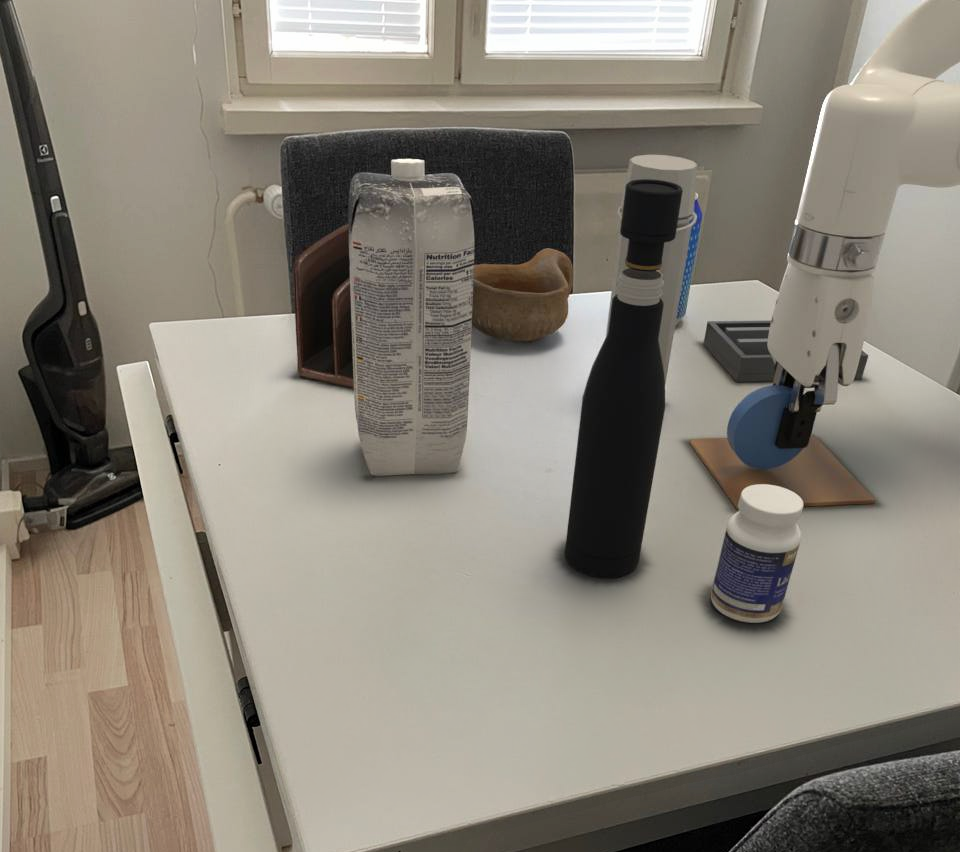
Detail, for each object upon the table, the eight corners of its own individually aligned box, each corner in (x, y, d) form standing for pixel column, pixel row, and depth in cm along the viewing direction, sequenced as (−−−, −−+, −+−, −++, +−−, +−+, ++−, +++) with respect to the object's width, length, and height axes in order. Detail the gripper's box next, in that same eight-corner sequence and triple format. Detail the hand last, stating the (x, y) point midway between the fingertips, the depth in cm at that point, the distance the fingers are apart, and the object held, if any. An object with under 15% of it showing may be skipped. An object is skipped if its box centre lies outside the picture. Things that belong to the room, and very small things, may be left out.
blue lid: (812, 438, 99) (796, 370, 94) (821, 447, 97) (805, 379, 93) (737, 472, 100) (717, 407, 95) (744, 482, 99) (725, 416, 94)
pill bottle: (782, 630, 78) (814, 521, 72) (709, 620, 79) (734, 511, 73) (778, 590, 83) (807, 484, 77) (709, 581, 83) (732, 475, 77)
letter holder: (296, 377, 113) (287, 250, 104) (375, 322, 127) (373, 207, 119) (375, 394, 110) (372, 265, 101) (446, 336, 125) (449, 219, 116)
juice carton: (469, 478, 96) (482, 178, 79) (360, 483, 94) (350, 177, 77) (456, 437, 102) (465, 153, 86) (354, 440, 101) (343, 151, 84)
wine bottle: (586, 584, 82) (637, 200, 64) (551, 545, 87) (590, 176, 68) (652, 570, 84) (720, 194, 66) (615, 532, 89) (669, 172, 70)
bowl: (489, 287, 136) (512, 217, 129) (578, 334, 134) (606, 265, 127) (430, 326, 123) (453, 250, 116) (527, 379, 121) (556, 304, 114)
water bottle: (598, 386, 114) (627, 150, 99) (666, 394, 113) (706, 157, 98) (589, 419, 107) (618, 170, 92) (661, 428, 106) (704, 178, 91)
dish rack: (819, 342, 129) (826, 315, 127) (861, 379, 120) (869, 351, 118) (703, 344, 127) (708, 317, 125) (736, 382, 117) (742, 353, 115)
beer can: (640, 304, 138) (657, 180, 128) (694, 318, 134) (717, 193, 124) (609, 320, 132) (626, 192, 122) (666, 335, 128) (687, 205, 119)
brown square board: (813, 438, 106) (814, 434, 106) (874, 503, 95) (875, 499, 95) (688, 442, 104) (689, 438, 104) (736, 509, 93) (737, 505, 93)
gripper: (919, 277, 81) (856, 478, 92) (834, 222, 93) (788, 405, 104) (834, 277, 80) (781, 480, 91) (759, 222, 92) (720, 407, 103)
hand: (785, 439), depth 97 cm, fingers closed on blue lid, 2 cm apart
